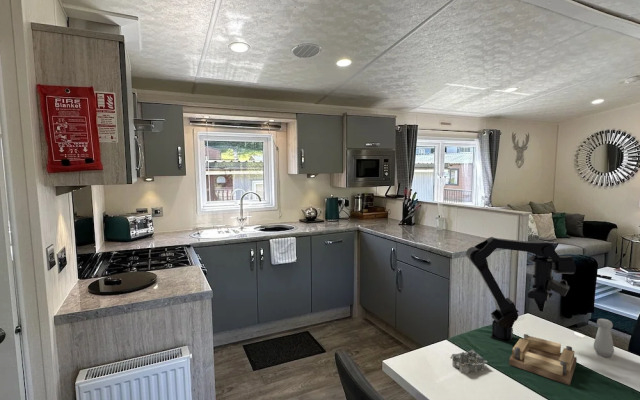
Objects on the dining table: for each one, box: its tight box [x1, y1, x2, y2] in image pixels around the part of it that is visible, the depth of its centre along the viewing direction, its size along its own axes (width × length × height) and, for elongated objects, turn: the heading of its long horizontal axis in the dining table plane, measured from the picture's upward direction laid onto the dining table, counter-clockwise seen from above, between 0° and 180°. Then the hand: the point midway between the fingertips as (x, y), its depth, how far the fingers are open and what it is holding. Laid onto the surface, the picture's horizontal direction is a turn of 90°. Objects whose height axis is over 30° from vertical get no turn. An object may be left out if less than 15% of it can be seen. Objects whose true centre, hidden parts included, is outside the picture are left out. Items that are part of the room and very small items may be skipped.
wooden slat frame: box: [508, 338, 578, 386], centre depth 115 cm, size 17×17×6 cm
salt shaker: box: [593, 318, 615, 358], centre depth 120 cm, size 6×6×13 cm
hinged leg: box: [523, 333, 562, 355], centre depth 121 cm, size 11×3×4 cm, turn 51°
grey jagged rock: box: [449, 349, 488, 375], centre depth 114 cm, size 11×8×4 cm
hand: (541, 311), depth 130 cm, fingers closed
